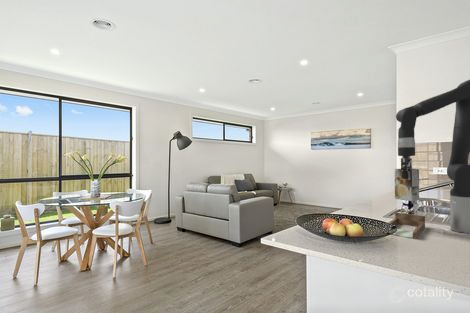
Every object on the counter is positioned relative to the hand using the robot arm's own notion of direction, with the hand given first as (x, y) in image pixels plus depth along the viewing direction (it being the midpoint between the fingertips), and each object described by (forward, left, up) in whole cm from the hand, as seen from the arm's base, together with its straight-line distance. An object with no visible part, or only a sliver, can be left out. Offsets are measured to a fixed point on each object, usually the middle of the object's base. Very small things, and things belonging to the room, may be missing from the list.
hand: (406, 178), depth 132 cm
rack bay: (0, +6, -26) cm, 26 cm away
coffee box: (0, 0, -11) cm, 11 cm away
